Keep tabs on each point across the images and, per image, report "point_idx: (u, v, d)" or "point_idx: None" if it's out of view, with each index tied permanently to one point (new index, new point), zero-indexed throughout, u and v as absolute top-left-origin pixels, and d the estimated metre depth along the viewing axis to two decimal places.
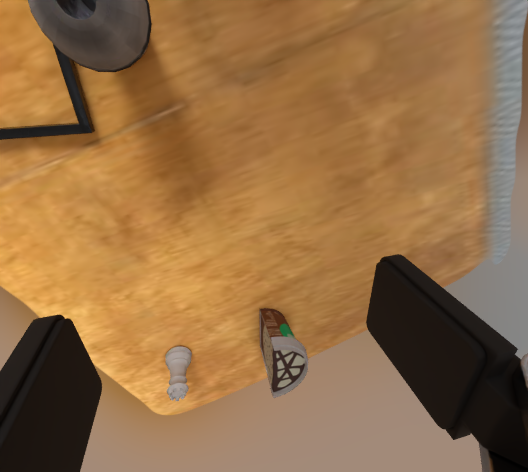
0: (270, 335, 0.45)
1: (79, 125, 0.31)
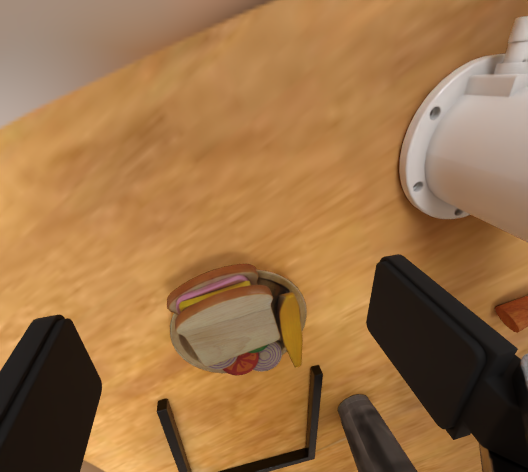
0: None
1: (308, 457, 0.41)
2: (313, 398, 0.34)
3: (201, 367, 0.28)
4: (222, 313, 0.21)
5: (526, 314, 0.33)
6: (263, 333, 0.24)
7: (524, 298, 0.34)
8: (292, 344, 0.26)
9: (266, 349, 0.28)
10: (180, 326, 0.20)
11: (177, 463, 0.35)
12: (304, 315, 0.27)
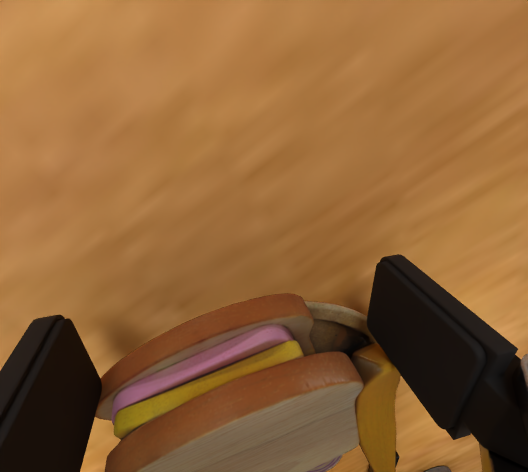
0: None
1: None
2: None
3: None
4: (231, 443, 0.08)
5: None
6: (327, 448, 0.10)
7: None
8: (377, 444, 0.13)
9: None
10: None
11: None
12: None
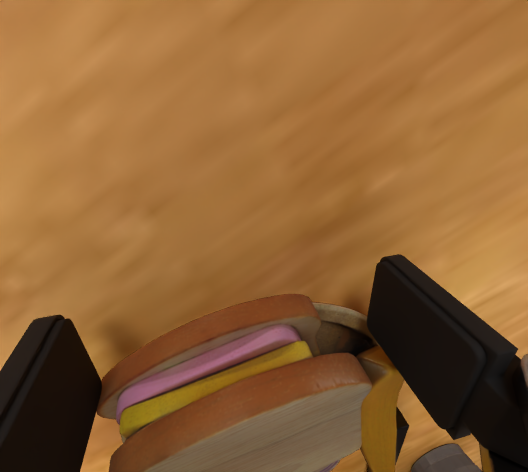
0: None
1: None
2: None
3: None
4: (239, 443, 0.07)
5: None
6: (330, 450, 0.10)
7: None
8: (377, 447, 0.13)
9: None
10: None
11: None
12: None
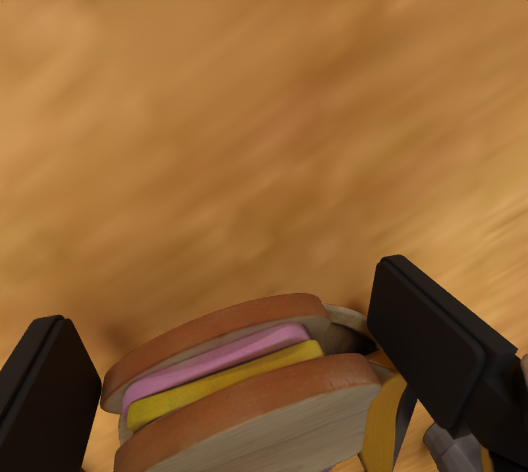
0: None
1: None
2: (396, 423, 0.16)
3: None
4: (249, 441, 0.07)
5: None
6: (332, 453, 0.10)
7: None
8: (376, 452, 0.13)
9: None
10: None
11: None
12: None
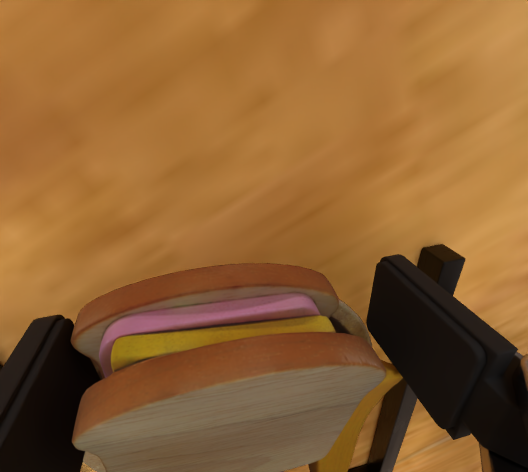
0: None
1: None
2: None
3: None
4: (245, 405, 0.07)
5: None
6: (302, 450, 0.10)
7: None
8: (332, 465, 0.12)
9: None
10: (94, 431, 0.06)
11: None
12: None
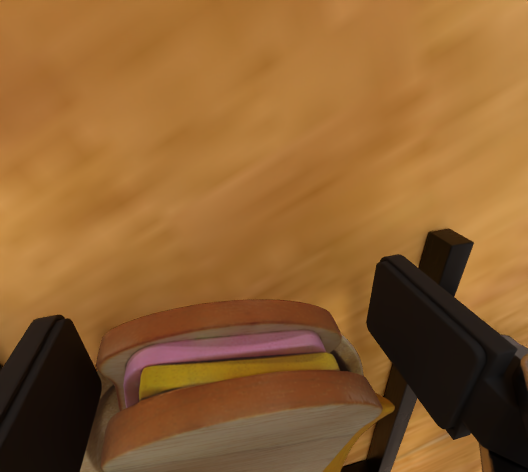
0: None
1: None
2: None
3: None
4: (257, 436, 0.07)
5: None
6: None
7: None
8: None
9: None
10: (124, 456, 0.06)
11: None
12: None
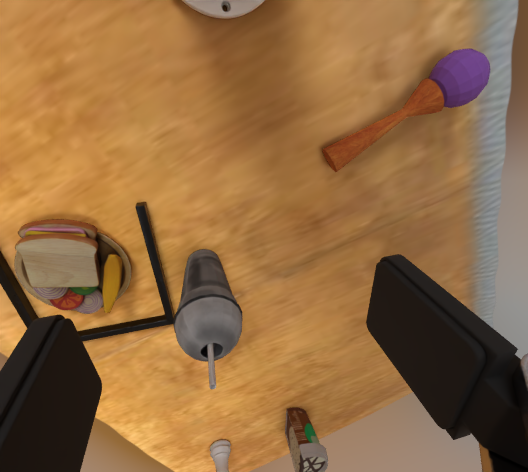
0: (298, 440, 0.56)
1: (166, 320, 0.42)
2: (145, 238, 0.36)
3: (32, 294, 0.36)
4: (54, 247, 0.30)
5: (339, 148, 0.35)
6: (85, 276, 0.33)
7: (344, 138, 0.36)
8: (108, 294, 0.36)
9: (91, 296, 0.38)
10: (19, 244, 0.29)
11: (14, 303, 0.36)
12: (128, 280, 0.38)
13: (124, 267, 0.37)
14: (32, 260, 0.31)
